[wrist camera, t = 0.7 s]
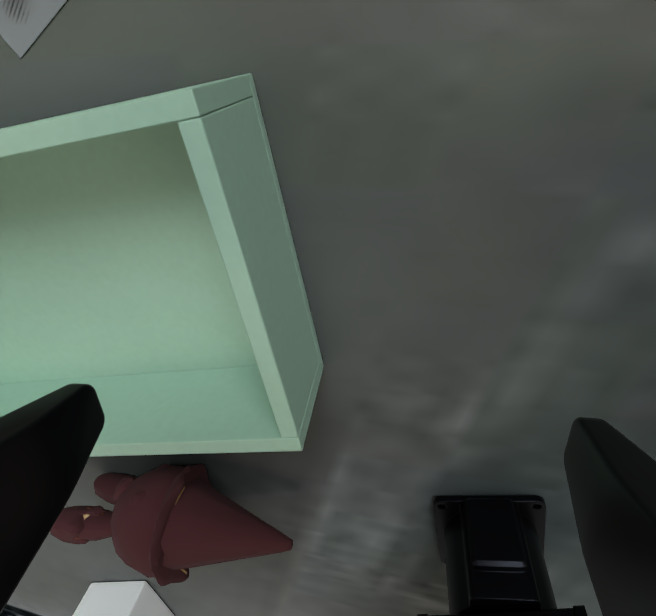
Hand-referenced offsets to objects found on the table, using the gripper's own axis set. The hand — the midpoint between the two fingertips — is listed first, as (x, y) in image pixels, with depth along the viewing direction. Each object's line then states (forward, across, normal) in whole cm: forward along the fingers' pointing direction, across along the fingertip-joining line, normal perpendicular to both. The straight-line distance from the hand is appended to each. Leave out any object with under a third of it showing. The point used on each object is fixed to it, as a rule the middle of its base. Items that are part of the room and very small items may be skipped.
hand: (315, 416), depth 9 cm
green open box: (+14, +14, +4) cm, 20 cm away
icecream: (+14, +12, +19) cm, 27 cm away
